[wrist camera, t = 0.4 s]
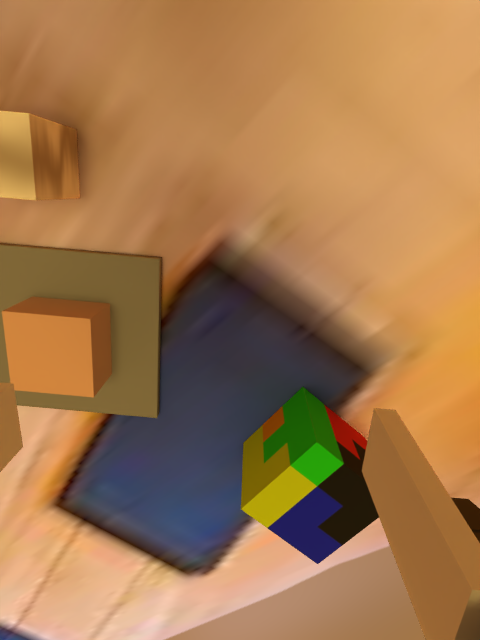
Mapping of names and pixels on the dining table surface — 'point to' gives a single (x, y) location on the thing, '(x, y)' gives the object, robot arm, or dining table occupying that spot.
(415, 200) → the dining table surface
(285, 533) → the puzzle toy
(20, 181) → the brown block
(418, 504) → the robot arm
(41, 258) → the olive square panel
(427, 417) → the dining table surface
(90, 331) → the base block
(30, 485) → the dining table surface
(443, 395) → the dining table surface
